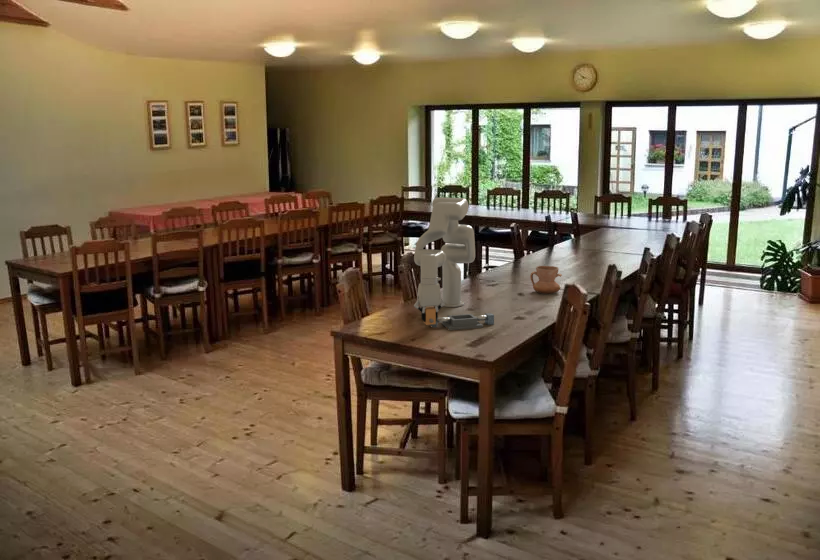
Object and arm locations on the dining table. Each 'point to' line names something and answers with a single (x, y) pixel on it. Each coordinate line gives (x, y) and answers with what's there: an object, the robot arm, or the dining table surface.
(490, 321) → the straight shaft
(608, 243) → the dining table surface
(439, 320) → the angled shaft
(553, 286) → the ceramic jug
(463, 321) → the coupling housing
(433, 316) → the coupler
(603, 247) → the dining table surface
